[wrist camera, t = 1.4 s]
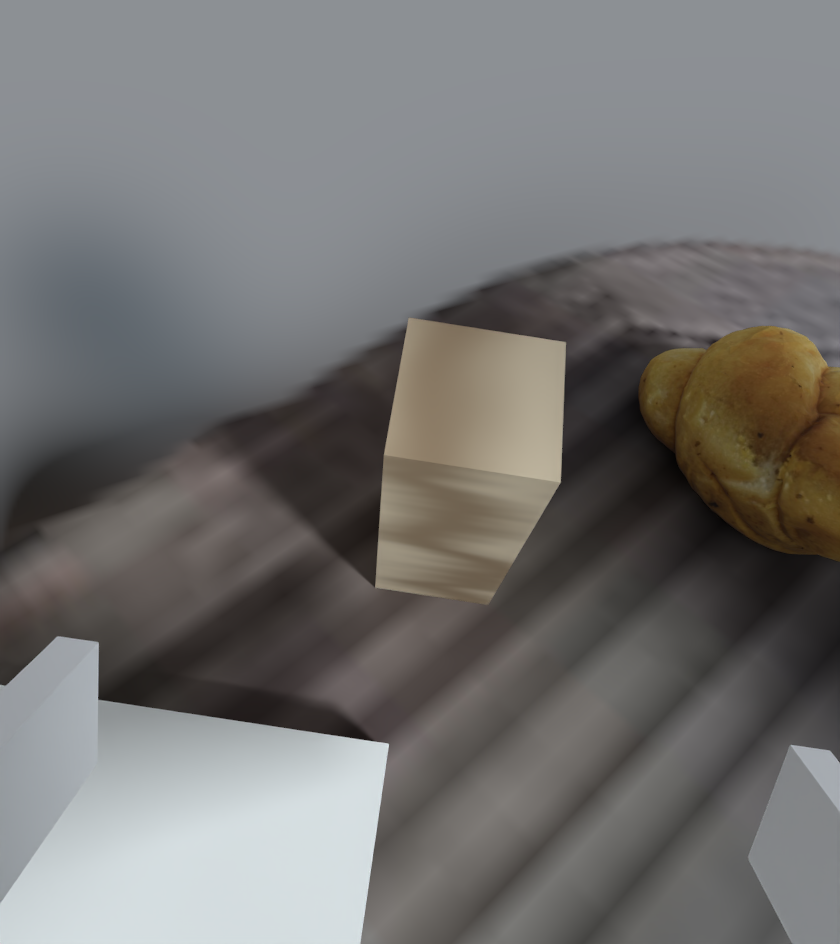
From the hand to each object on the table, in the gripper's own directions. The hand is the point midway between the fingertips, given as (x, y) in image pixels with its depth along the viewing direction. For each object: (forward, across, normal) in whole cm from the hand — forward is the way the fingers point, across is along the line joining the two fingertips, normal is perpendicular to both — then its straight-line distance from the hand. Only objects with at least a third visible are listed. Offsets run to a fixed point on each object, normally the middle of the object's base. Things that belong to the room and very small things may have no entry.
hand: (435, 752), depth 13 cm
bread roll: (+23, +15, +2) cm, 27 cm away
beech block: (+18, 0, -3) cm, 18 cm away
